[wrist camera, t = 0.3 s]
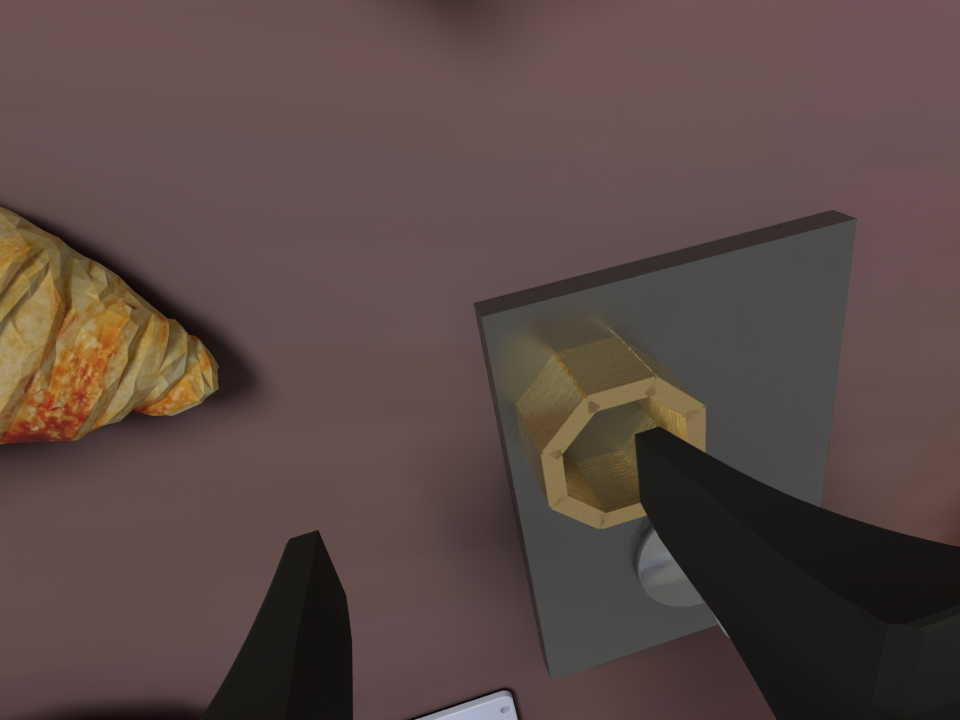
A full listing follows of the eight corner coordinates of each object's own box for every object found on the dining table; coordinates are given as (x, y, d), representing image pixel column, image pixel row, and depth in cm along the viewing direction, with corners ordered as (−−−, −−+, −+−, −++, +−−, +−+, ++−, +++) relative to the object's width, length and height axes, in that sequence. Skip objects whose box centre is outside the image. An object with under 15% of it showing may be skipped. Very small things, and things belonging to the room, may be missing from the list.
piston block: (794, 576, 34) (868, 661, 29) (543, 659, 32) (580, 762, 28) (833, 210, 24) (953, 253, 19) (473, 303, 22) (514, 373, 18)
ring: (666, 450, 26) (705, 497, 23) (530, 490, 25) (555, 543, 23) (661, 323, 23) (705, 362, 21) (508, 365, 22) (533, 410, 20)
